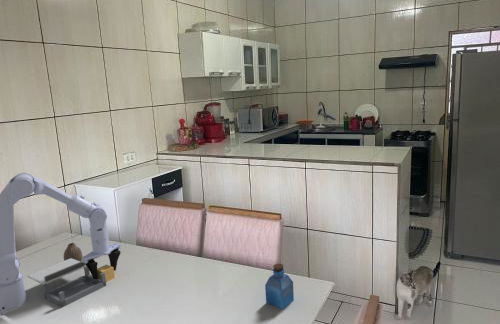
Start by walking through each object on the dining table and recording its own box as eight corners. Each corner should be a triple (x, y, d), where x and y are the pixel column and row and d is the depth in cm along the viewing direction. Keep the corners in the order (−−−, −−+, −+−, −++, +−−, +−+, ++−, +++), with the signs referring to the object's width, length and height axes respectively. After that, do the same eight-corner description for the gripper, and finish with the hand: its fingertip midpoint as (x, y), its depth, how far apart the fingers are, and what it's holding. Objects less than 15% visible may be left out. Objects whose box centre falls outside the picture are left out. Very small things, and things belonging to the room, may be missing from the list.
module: (104, 284, 139) (102, 272, 138) (97, 280, 141) (95, 269, 140) (114, 278, 142) (113, 267, 141) (107, 276, 145) (106, 264, 144)
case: (62, 309, 124) (60, 293, 123) (45, 300, 130) (42, 285, 129) (106, 287, 137) (104, 273, 136) (88, 280, 143) (86, 266, 142)
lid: (43, 284, 129) (42, 278, 129) (27, 277, 135) (26, 271, 135) (87, 265, 142) (86, 260, 141) (71, 259, 148) (70, 254, 148)
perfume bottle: (277, 294, 126) (276, 259, 123) (293, 300, 122) (292, 264, 120) (266, 303, 121) (264, 267, 119) (282, 309, 117) (280, 272, 115)
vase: (61, 266, 156) (58, 246, 155) (75, 259, 162) (72, 239, 161) (72, 269, 153) (69, 248, 152) (87, 262, 159) (84, 242, 157)
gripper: (87, 248, 131) (93, 285, 133) (123, 234, 142) (128, 268, 145) (76, 244, 135) (81, 280, 137) (112, 230, 146) (116, 264, 149)
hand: (104, 274), depth 141 cm, fingers open, 7 cm apart
